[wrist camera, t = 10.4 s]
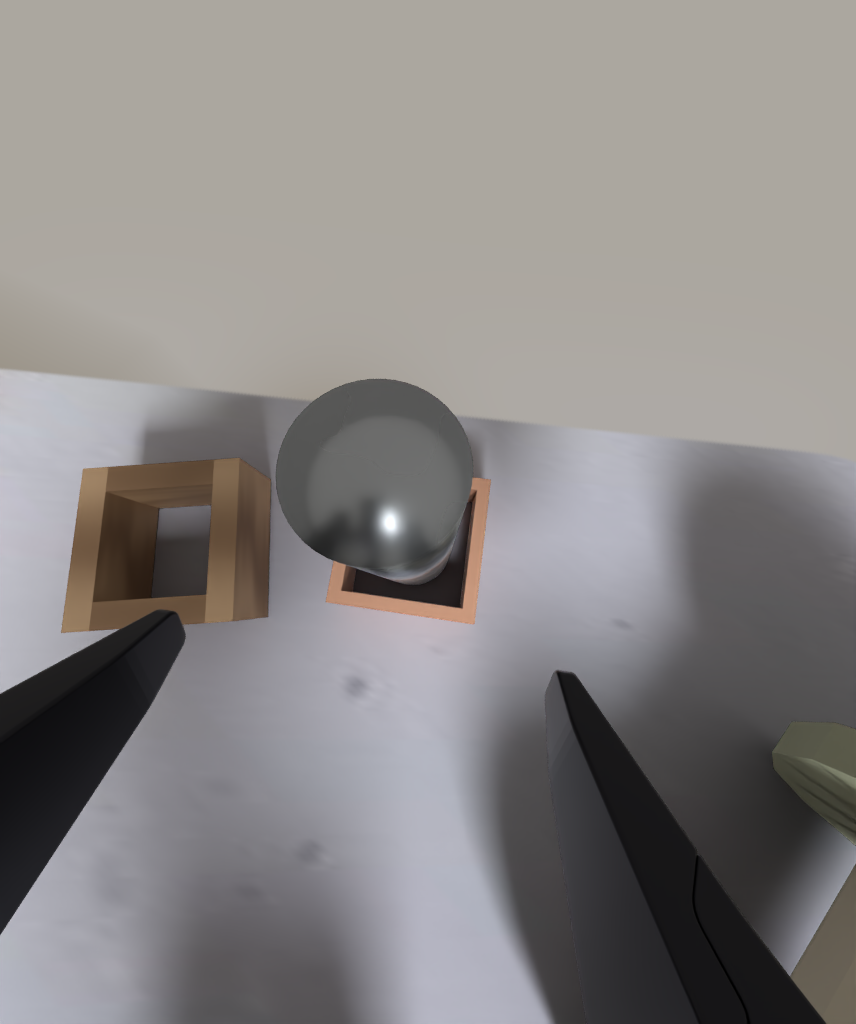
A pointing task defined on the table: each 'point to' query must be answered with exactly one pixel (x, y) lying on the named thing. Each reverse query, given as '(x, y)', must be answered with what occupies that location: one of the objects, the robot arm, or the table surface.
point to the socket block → (465, 613)
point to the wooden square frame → (132, 539)
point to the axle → (377, 479)
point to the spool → (852, 917)
